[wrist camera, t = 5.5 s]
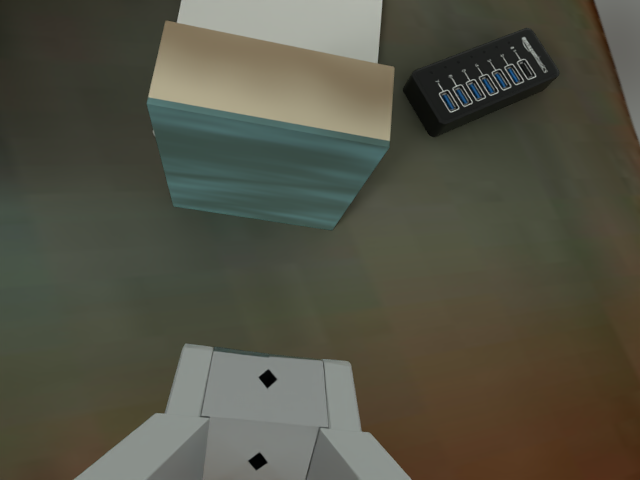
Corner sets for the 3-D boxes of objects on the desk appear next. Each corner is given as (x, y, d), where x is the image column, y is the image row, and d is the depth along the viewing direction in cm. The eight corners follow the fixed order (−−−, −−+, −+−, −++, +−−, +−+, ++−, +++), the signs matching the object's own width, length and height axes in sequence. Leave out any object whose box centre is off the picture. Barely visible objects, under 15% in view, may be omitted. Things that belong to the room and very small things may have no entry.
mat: (367, 172, 35) (369, 168, 34) (154, 135, 33) (152, 131, 32) (380, -3, 39) (383, -9, 38) (193, -44, 37) (192, -51, 36)
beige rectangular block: (331, 230, 33) (389, 147, 22) (173, 206, 32) (146, 103, 20) (337, 173, 34) (394, 66, 23) (185, 147, 33) (165, 20, 22)
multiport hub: (399, 90, 37) (410, 71, 35) (514, 45, 41) (530, 25, 38) (429, 141, 37) (442, 125, 35) (543, 91, 40) (562, 74, 38)
